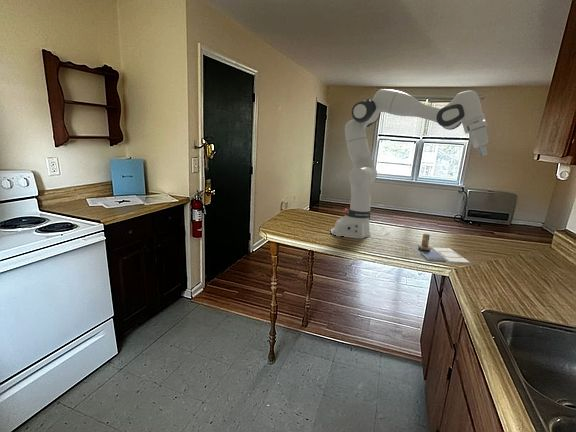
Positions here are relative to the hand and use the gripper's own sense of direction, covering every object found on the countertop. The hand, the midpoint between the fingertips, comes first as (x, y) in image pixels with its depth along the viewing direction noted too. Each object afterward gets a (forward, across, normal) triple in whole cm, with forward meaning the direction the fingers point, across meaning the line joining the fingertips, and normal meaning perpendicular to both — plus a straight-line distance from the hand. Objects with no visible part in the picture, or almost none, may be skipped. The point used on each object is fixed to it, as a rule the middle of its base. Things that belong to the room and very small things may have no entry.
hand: (483, 156), depth 139 cm
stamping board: (+40, +6, -29) cm, 49 cm away
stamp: (+36, +3, -35) cm, 50 cm away
